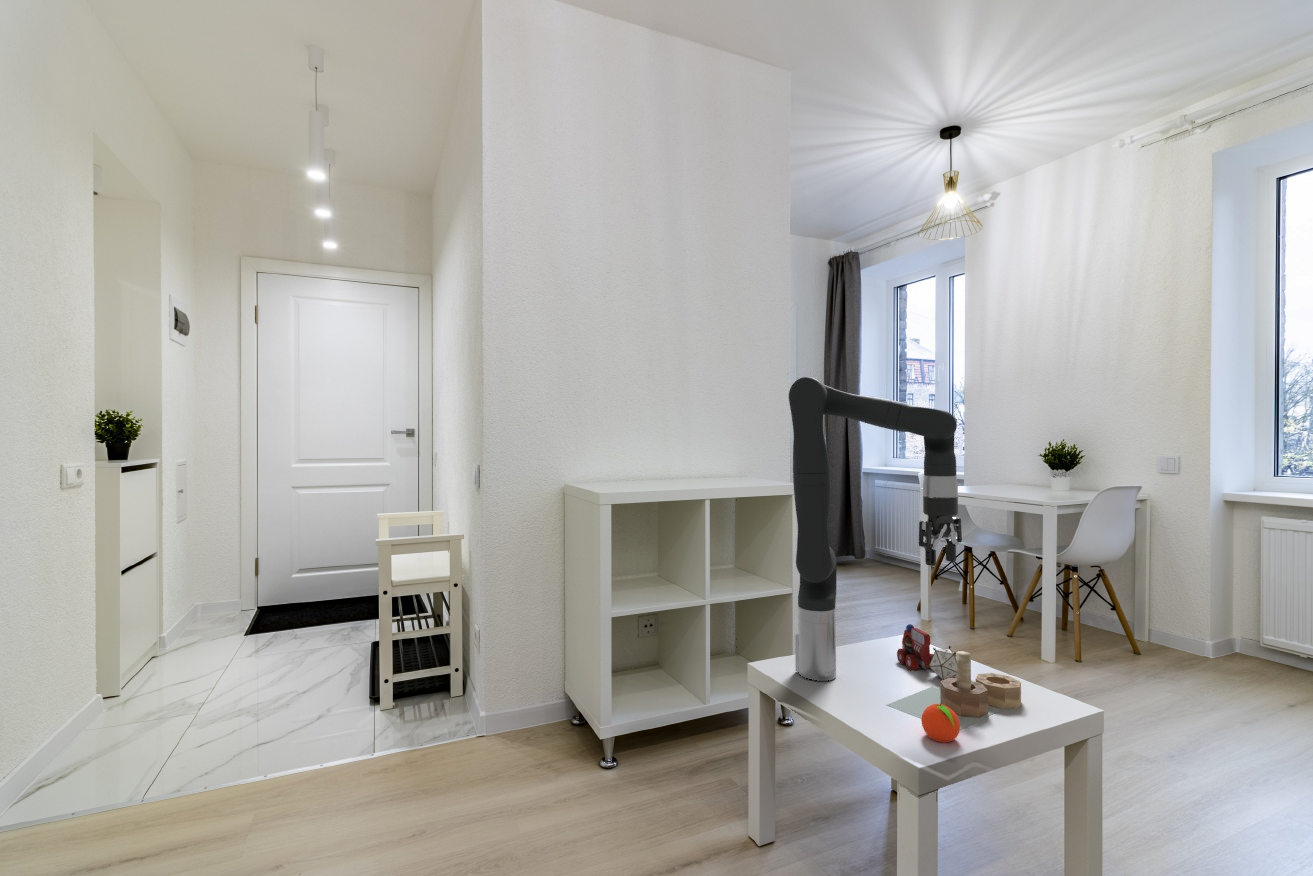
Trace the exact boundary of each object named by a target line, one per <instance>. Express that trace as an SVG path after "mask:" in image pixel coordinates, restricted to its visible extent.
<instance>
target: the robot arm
mask: <svg viewBox="0 0 1313 876" xmlns="http://www.w3.org/2000/svg"><path fill="white" fill-rule="evenodd" d="M788 402H789V408H790V414H791V422H792V423H791V424H792V429H793V433H792V434H793V442H792V443H793V444H792V445H793V446H792V473H793V474H792V478H793V479H792V480H793V481H792V482H793V494H794V505H795V514H796V521H797V522H796V523H797V539H796V541H797V542H796V543H797V544H796V553H795V554H796V555H795V566H796V570H797V572H798V574H799V588H798V595H797V612H798V613H797V621H798V622H797V623H798V624H797V627H798V631H797V633H796V634H795V636H794V638H795V639H794V640H795V642H794V643H795V649H794V650H795V672H796V671H797V672H796V673H798V672H799V673H798V675H799V674H800V675H801V676H800V675H799V676H800V677H802V676H803V677H805V678H804V679H806V678H808V679H807V680H809V679H812V680H811V681H814V680H817V681H816V682H827V681H828V680H829V681H832V680H834V679H835V677H837V638H836V637H837V635H836V634H837V632H836V630H837V624H836V623H837V622H836V621H837V619H836V617H837V616H836V613H837V611H836V608H837V607H836V605H837V604H836V601H837V600H836V599H837V557H836V554H835V551H834V550H833V548H832V547H831V546H830V542H829V541H830V540H829V529H828V526H829V524H828V522H829V513H830V507H831V496H832V495H831V494H832V481H831V480H832V478H831V477H832V476H831V465H830V458H829V453H828V448H827V444H826V440H825V436H824V415H825V416H836V417H842V418H847V419H850V420H854V421H857V422H861V423H864V424H869V425H871V426H875V427H879V428H883V429H888V430H892V431H896V432H903V433H911V434H912V435H913V434H914V435H918V436H921V437H923V445H924V457H923V483H922V505H923V506H922V509H923V510H922V513H923V514H924V515H926V516H928V517H927V520H920V521H919V523H918V546H919V547H921V548H923V549H924V552H925V556H924V557H925V558H924V560H925V561H924V562H925V565H927V566H931V567H934V566H936V565H937V550H936V548H937V546H938V543H940V542H941V541H942V540H943V541H944V543H945V560H946V561H947V562H951V563H953V562H956V561H957V546H958V544H961V543H962V541H963V536H962V533H963V532H962V531H963V530H962V518H961V517H954V516H957V515H958V514H959V493H958V490H959V489H958V487H959V485H958V478H957V458H956V453H955V435H956V434H955V432H956V431H957V427H958V424H957V420H956V418H955V416H954V415H953V414H952V413H950V412H948V411H946V410H942V409H937V408H931V407H925V406H919V405H913V404H910V403H906V402H902V401H897V400H892V399H888V398H882V397H875V396H870V395H869V396H867V395H862V394H860V395H859V394H853V393H848V392H845V391H841V390H839V389H835V388H833V387H831V386H829V385H825V384H823V383H822V382H821V381H820V380H818V379H817V378H814V377H811V376H804V377H800V378H798V379H796V380H795V381H794V382H793V383H792V385H791V386H790V388H789V391H788ZM803 677H802V678H803Z"/></svg>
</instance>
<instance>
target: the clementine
mask: <svg viewBox="0 0 1313 876" xmlns="http://www.w3.org/2000/svg"><path fill="white" fill-rule="evenodd" d="M920 719H921V718H920ZM921 726H922V728H923V730H924V733H925V734H926V735H927V736H928V737H929V738H930V739H932V740H933V741H936V742H938V743H939V742H940V743H951V742H952V741H954V740H956V738H957V737H958V736H959V734H960V731H961V730H960V722H959V719H958V717H957V715H956V714H955V712H954V711H953V710H952V709H950V708H949V707H947V706H945V705H942V704H933V705H930V706H928V707H927V708H926V709H925V710H924V712H923V714H922V719H921Z"/></svg>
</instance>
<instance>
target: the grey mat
mask: <svg viewBox="0 0 1313 876" xmlns="http://www.w3.org/2000/svg"><path fill="white" fill-rule="evenodd" d="M933 704H941V700H940V688H938V687H934V686H930V687H928V688H925V689H922V690H920V691H917V692H915V693H912V694H910V695H907V696H905V697H903V698H900V699H898V700H896V701H892V702H891V703H890V702H889V703H887V704H886V706H887V707H890V708H893V709H895V710H898V711H900V712H903V713H906V714H907V715H910V716H914V718H915V717H916V718H918V719H922V714H923V712H924V710H925V709H926V708H927V707H928V706H930V705H933ZM1000 711H1001V708H998V707H994V706H990V705H988V714H986V715H984V716H982V717H980V718H975V717H961V716H958V715H957V717H958V719H959V722H960V731H962V730H963V729H966V728H968V727H970V726H972V725H974V724H976V723H977V722H980V721H982V720H984V719H987V718H988V717H990V716H992V715H994V714H996V713H998V712H1000Z"/></svg>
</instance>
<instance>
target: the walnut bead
mask: <svg viewBox="0 0 1313 876" xmlns="http://www.w3.org/2000/svg"><path fill="white" fill-rule="evenodd" d="M939 686H940V688H939V689H940V700H941V704H942V705H945V706H947V707H949V708H950V709H952V710H953V711H954V712H955V714H956V715H958V716H961V717H975V718H980V717H982V716H984V715H986V714H988V706H989V705H988V690H987V689H986V688H985V687H984V685H983V684H981V683H978V682H976V680H975V681H974V680H971V690H964V689H959V688H957V678H948V679H945V680H942V679H941V680H940V685H939Z"/></svg>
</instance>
